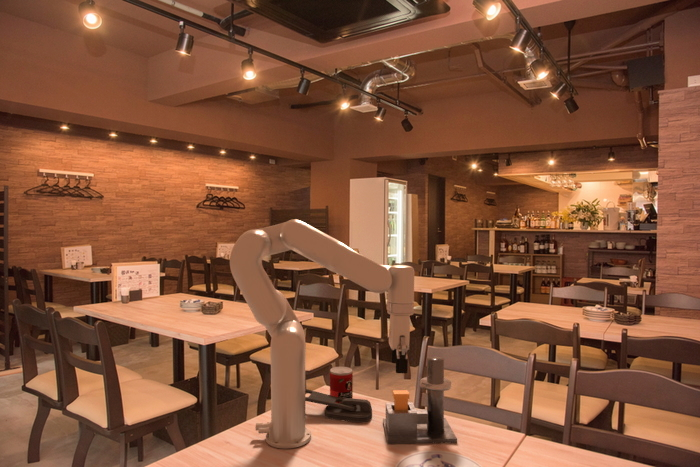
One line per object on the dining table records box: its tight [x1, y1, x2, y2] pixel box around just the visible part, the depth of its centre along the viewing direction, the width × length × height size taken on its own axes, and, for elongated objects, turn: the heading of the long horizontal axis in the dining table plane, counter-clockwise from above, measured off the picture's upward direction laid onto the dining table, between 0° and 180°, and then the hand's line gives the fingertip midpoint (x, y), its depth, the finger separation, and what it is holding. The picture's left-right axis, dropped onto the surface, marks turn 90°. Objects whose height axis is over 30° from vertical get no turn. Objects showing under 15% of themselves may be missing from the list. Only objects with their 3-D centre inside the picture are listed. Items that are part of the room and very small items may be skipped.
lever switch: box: [382, 356, 458, 445], centre depth 133 cm, size 19×14×21 cm
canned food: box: [329, 366, 354, 404], centre depth 157 cm, size 8×8×11 cm
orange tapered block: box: [392, 389, 410, 410], centre depth 133 cm, size 4×3×10 cm
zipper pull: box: [305, 388, 373, 424], centre depth 146 cm, size 9×7×25 cm
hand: (399, 367), depth 133 cm, fingers open, 9 cm apart
